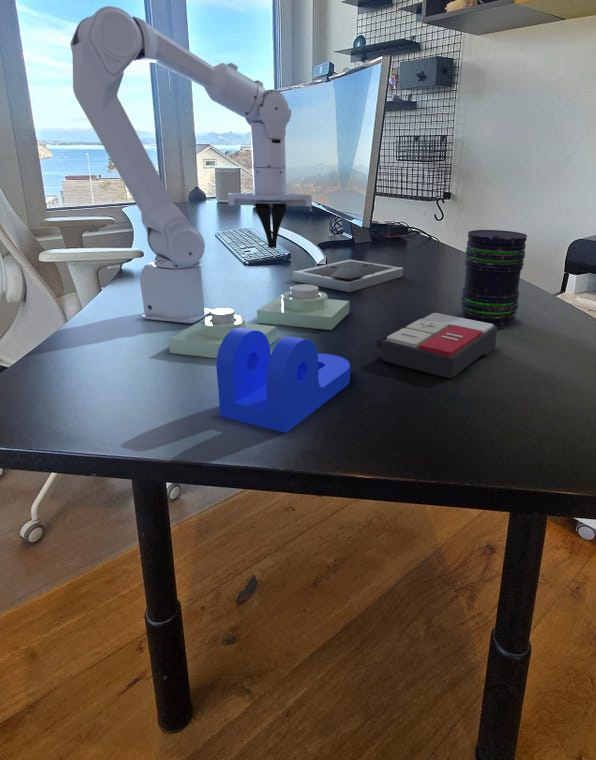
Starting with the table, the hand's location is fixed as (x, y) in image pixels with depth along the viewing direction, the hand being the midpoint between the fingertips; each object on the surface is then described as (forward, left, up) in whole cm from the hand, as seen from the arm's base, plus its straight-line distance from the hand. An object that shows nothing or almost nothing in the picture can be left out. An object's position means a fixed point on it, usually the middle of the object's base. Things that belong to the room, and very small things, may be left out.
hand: (272, 246), depth 100 cm
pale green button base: (+3, -26, -10) cm, 28 cm away
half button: (+3, -26, -7) cm, 27 cm away
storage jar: (+40, +1, -11) cm, 41 cm away
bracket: (+19, -39, -11) cm, 45 cm away
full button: (+9, -8, -7) cm, 14 cm away
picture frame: (+8, +25, -11) cm, 28 cm away
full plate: (+9, -8, -10) cm, 16 cm away
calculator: (+34, -20, -11) cm, 41 cm away
